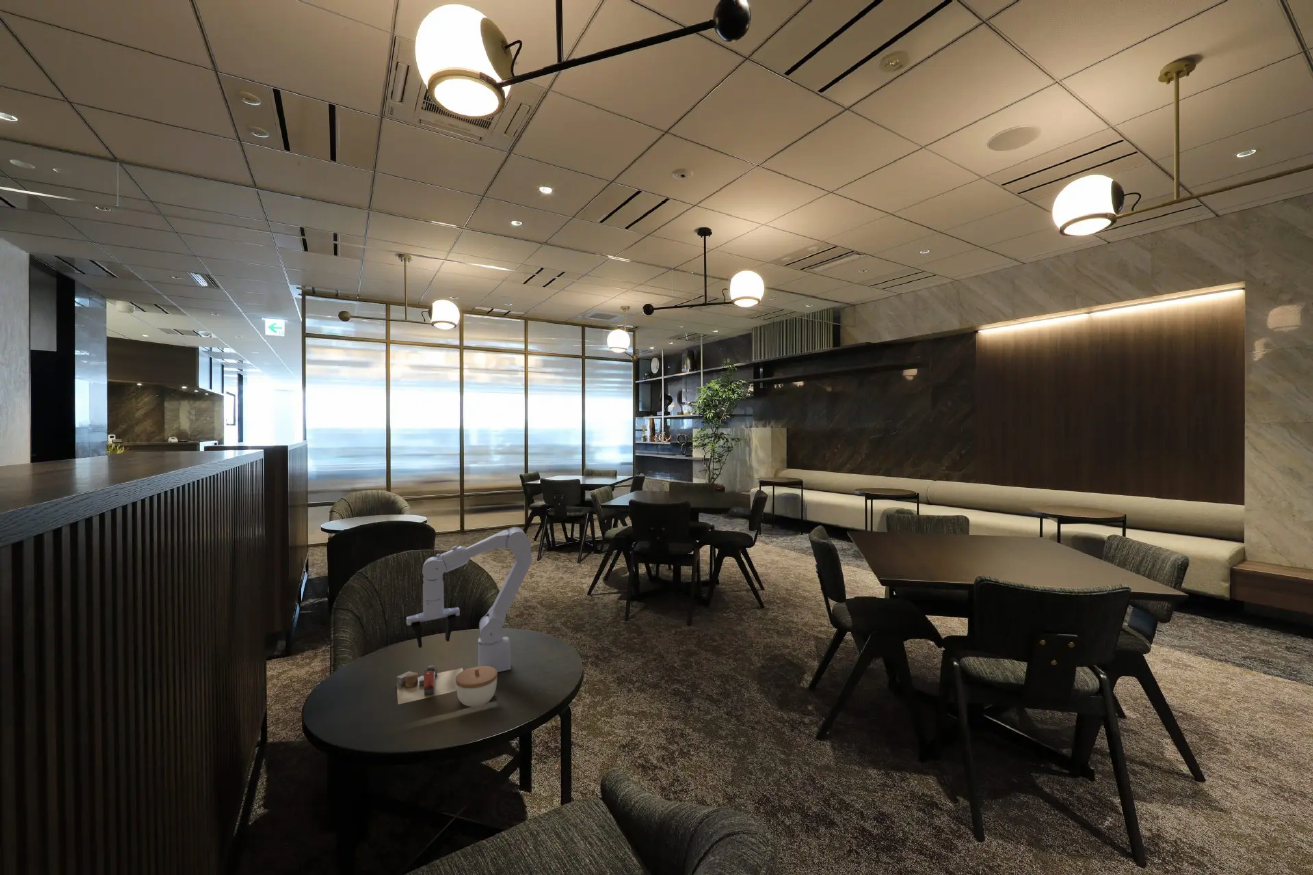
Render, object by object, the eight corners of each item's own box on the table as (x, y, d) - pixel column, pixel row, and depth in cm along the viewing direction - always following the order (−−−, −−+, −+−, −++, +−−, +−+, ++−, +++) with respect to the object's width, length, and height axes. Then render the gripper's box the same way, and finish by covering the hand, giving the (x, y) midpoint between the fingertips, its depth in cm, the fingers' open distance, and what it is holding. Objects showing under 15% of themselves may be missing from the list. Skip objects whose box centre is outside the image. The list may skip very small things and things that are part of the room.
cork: (417, 681, 147) (417, 671, 147) (418, 686, 145) (418, 675, 145) (405, 684, 146) (405, 673, 146) (405, 689, 143) (405, 678, 143)
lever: (437, 671, 153) (437, 653, 153) (435, 693, 140) (435, 673, 140) (420, 674, 151) (420, 655, 151) (417, 696, 138) (417, 676, 138)
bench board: (462, 671, 156) (462, 658, 156) (469, 692, 144) (469, 678, 144) (396, 685, 147) (396, 672, 147) (397, 708, 135) (397, 693, 135)
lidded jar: (473, 718, 131) (473, 681, 131) (447, 706, 136) (447, 671, 136) (506, 699, 140) (505, 665, 140) (480, 689, 145) (479, 656, 145)
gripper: (455, 590, 159) (455, 633, 159) (404, 599, 151) (405, 644, 151) (461, 596, 154) (461, 641, 154) (408, 605, 145) (408, 652, 145)
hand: (433, 643), depth 152 cm, fingers open, 7 cm apart
